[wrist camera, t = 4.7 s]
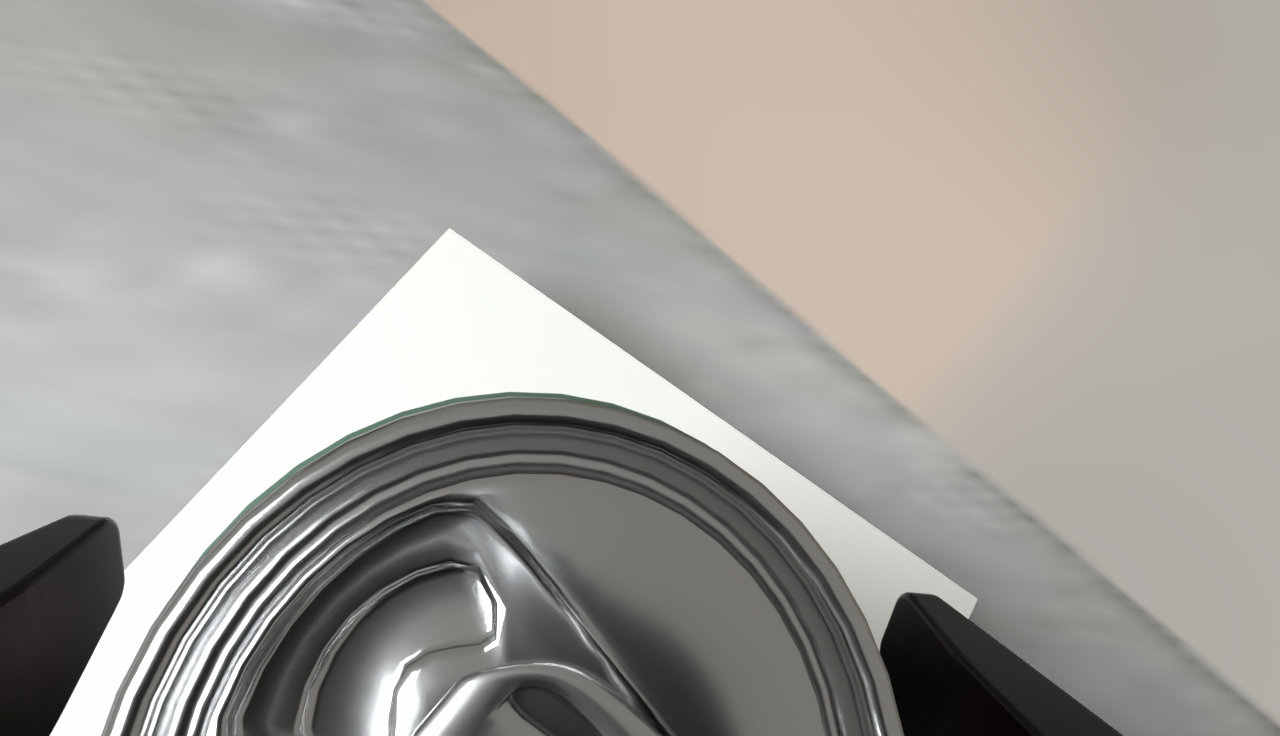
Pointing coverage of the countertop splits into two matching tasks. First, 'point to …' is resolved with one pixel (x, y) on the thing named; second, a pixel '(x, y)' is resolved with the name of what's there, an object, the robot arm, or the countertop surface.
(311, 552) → the soda can
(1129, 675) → the countertop surface
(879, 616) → the socket collar
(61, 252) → the countertop surface
